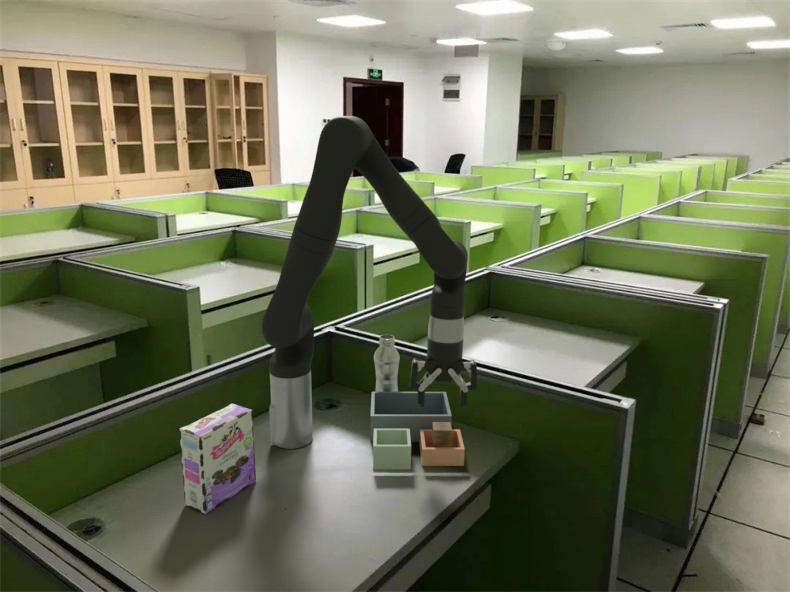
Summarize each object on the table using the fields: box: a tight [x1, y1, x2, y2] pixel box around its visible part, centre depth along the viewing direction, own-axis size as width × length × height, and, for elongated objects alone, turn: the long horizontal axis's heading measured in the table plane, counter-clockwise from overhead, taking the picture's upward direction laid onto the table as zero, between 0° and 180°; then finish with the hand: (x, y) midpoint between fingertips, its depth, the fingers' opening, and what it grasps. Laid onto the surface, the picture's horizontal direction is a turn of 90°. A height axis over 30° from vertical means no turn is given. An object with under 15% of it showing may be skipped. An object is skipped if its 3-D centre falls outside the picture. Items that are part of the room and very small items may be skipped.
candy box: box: [178, 403, 257, 515], centre depth 122 cm, size 14×6×16 cm, turn 148°
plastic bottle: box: [373, 334, 401, 392], centre depth 159 cm, size 6×7×20 cm
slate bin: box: [370, 391, 453, 443], centre depth 150 cm, size 19×14×7 cm
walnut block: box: [432, 422, 453, 448], centre depth 138 cm, size 4×4×7 cm
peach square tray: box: [419, 428, 466, 467], centre depth 138 cm, size 9×9×4 cm
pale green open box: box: [372, 429, 412, 470], centre depth 136 cm, size 8×8×6 cm
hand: (441, 405), depth 136 cm, fingers open, 8 cm apart
